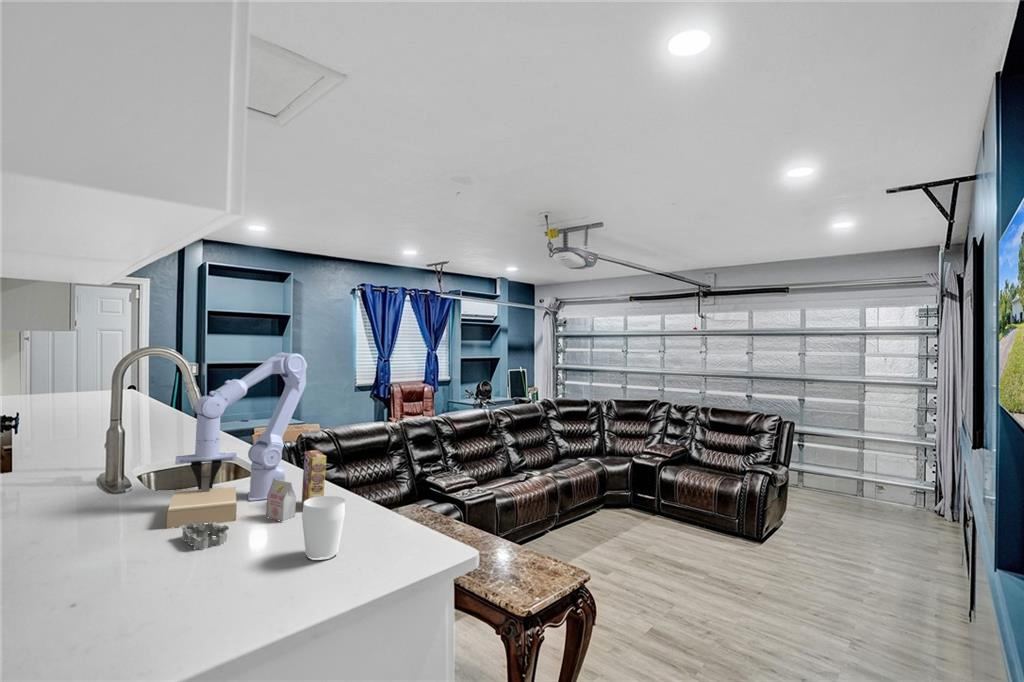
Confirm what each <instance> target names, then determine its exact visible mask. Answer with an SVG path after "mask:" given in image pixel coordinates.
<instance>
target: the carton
mask: <svg viewBox="0 0 1024 682" xmlns="http://www.w3.org/2000/svg"><path fill="white" fill-rule="evenodd" d="M166 517H167V518H166V529H167V528H168V529H173V528H172V527H176V528H179V527H178V526H181V525H190V524H195V523H202V522H204V523H208V522H212V523H213V524H215V523H214V522H220V523H227V522H226V521H229V522H236V521H237V502H236V505H231V506H221V507H211V508H201V509H192V510H182V511H172V512H168V511H167V515H166ZM235 520H236V521H235Z"/></svg>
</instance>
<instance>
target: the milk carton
mask: <svg viewBox="0 0 1024 682" xmlns="http://www.w3.org/2000/svg"><path fill="white" fill-rule="evenodd" d="M296 502H297V496H296V493H295V491H294V489H293V486H292V482H290V481H286V480H285V481H282V480H278V479H273V482H272V485H271V488H270V490H269V493H268V495H267V499H266V516H265V518H266V517H269V518H272V519H271V520H273V519H275V520H274V521H276V520H280V521H285V520H288V519H291V518H294V517H295V518H296ZM269 518H268V519H269Z"/></svg>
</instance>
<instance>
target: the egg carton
mask: <svg viewBox="0 0 1024 682" xmlns="http://www.w3.org/2000/svg"><path fill="white" fill-rule="evenodd" d="M181 526H182V527H181V529H182V536H181V537H182V540H183V541H182V542H186V541H185V540H188V541H187V545H188V544H189V545H190V546H192V545H191V544H194V545H193V549H194V548H195V549H197V548H202V549H201V550H203V549H204V550H206V549H205V548H208V549H209V547H211V546H210V545H212V546H215V545H214V544H218V545H217V546H222V545H221V544H223V545H224V544H225V543H226V542H227V541H228V540H227V539H228V533H227V531H228V530H230V528H229V525H227V524H224V525H220V524H214V523H212V522H208V524H204V522H202V523H195V524H190V525H181ZM208 532H212V533H211V535H210V537H208V536H209V535H208V534H209V533H208ZM212 536H216V537H212ZM225 541H226V542H225ZM224 542H225V543H224ZM189 545H188V546H189ZM208 546H209V547H208ZM195 549H194V550H195ZM197 550H198V549H197Z"/></svg>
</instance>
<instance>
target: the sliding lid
mask: <svg viewBox="0 0 1024 682" xmlns="http://www.w3.org/2000/svg"><path fill="white" fill-rule="evenodd" d="M210 478H211V475H201V489H200V490H197V489H196V490H187V491H186V490H185V491H174V492H173V494H172V497H171V500H170V504H169V507H168V509H167V512H172V511H182V510H192V509H201V508H211V507H221V506H231V505H236V503H237V491H236V486H231V487H220V488H212V489H209V486H210Z"/></svg>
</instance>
